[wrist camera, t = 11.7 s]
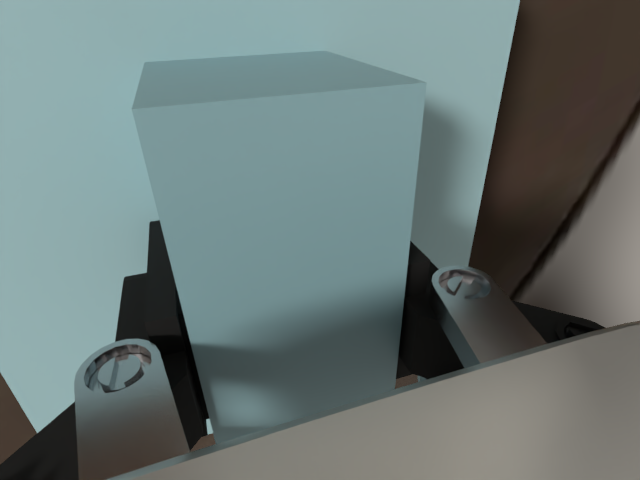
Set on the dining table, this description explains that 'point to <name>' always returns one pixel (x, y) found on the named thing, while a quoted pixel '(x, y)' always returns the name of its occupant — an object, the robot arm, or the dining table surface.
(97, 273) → the lid
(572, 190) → the dining table surface
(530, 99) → the dining table surface
